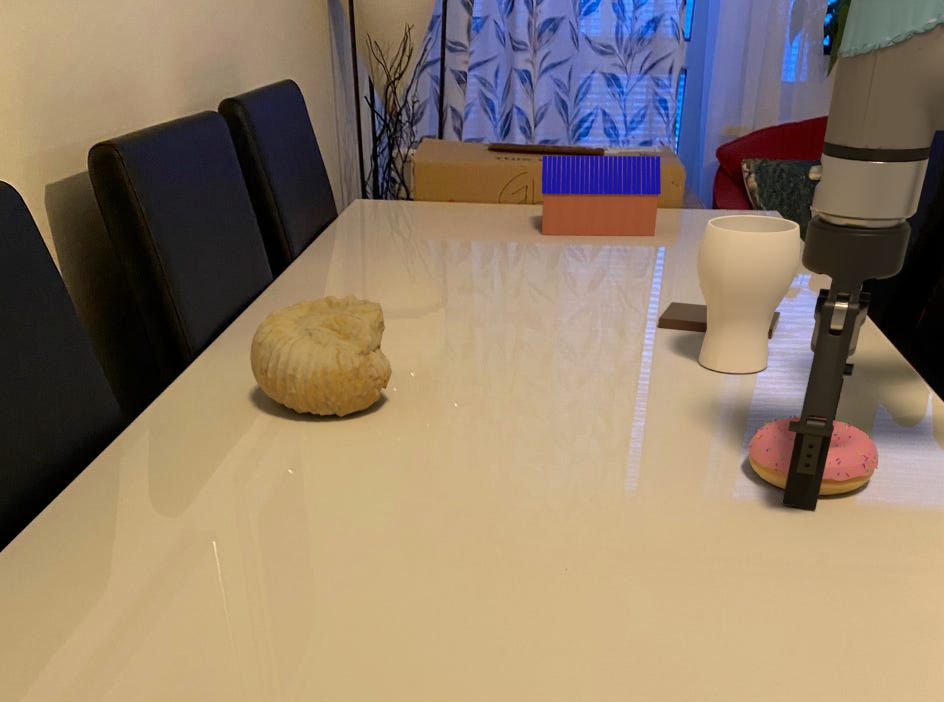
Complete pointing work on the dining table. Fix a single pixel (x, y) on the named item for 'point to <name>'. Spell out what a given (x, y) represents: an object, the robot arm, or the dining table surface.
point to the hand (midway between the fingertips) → (806, 473)
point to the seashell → (322, 355)
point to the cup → (744, 287)
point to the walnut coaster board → (695, 318)
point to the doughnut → (844, 465)
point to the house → (600, 195)
